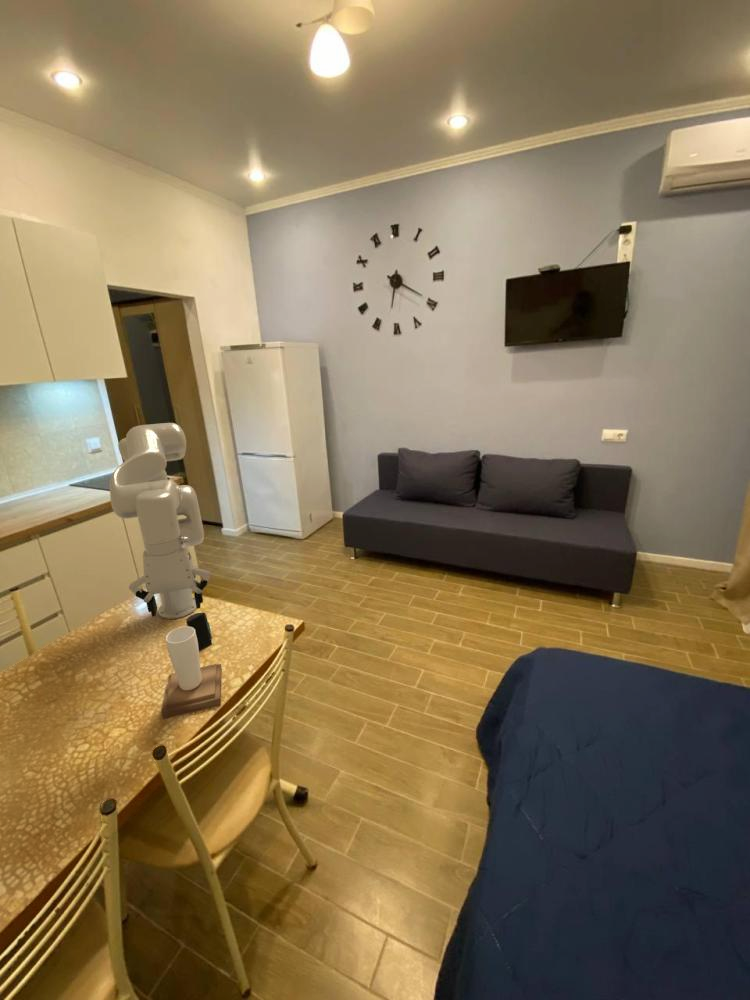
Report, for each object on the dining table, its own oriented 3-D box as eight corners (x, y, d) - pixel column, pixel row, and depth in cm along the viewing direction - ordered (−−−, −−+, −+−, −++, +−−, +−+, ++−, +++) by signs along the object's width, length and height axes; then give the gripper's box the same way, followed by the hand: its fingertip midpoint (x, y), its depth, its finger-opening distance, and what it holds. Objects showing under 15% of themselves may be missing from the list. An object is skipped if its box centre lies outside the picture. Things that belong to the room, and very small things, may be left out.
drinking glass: (195, 695, 103) (184, 644, 98) (170, 692, 104) (158, 641, 99) (210, 675, 109) (201, 627, 104) (187, 672, 110) (176, 624, 105)
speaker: (215, 646, 124) (207, 615, 122) (195, 654, 122) (186, 622, 119) (211, 634, 131) (203, 605, 128) (191, 642, 128) (183, 612, 125)
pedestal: (170, 681, 112) (168, 672, 111) (221, 669, 115) (220, 660, 114) (163, 719, 100) (160, 709, 99) (220, 704, 104) (219, 695, 103)
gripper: (205, 532, 100) (216, 594, 106) (124, 543, 95) (139, 607, 101) (204, 545, 93) (215, 611, 99) (116, 558, 88) (133, 626, 94)
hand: (177, 609), depth 100 cm, fingers open, 9 cm apart
